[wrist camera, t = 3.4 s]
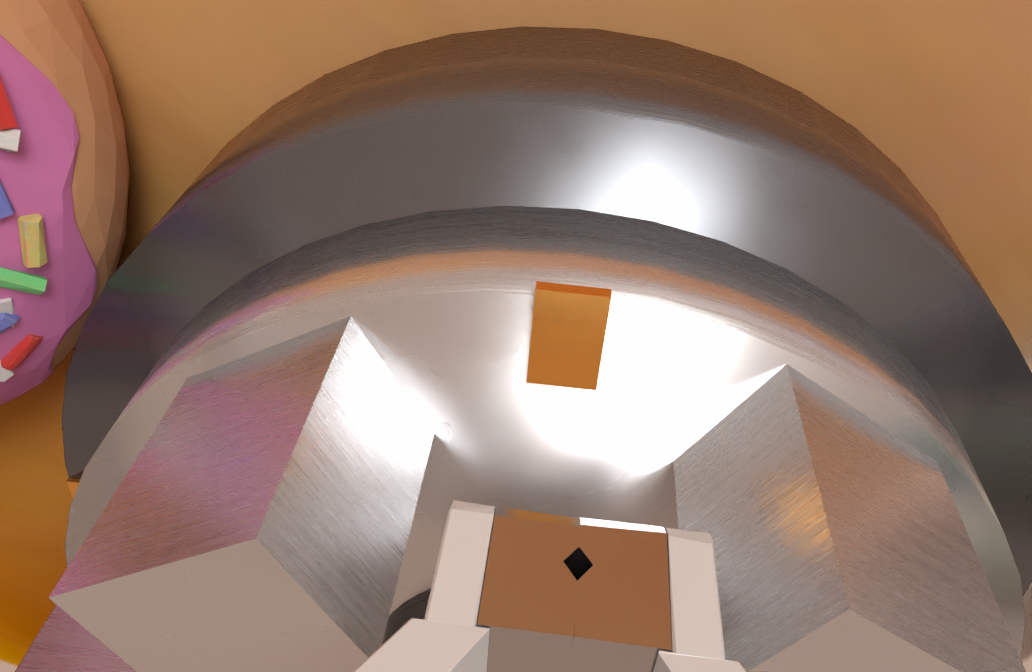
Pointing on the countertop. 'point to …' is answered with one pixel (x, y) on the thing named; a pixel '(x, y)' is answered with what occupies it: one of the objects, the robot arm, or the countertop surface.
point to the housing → (576, 185)
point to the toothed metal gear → (526, 453)
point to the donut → (54, 185)
